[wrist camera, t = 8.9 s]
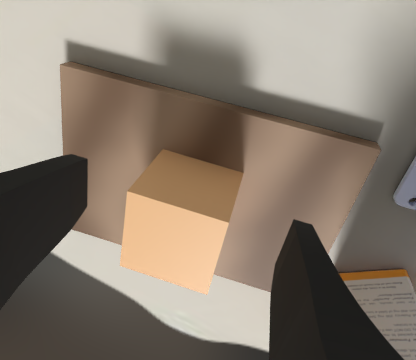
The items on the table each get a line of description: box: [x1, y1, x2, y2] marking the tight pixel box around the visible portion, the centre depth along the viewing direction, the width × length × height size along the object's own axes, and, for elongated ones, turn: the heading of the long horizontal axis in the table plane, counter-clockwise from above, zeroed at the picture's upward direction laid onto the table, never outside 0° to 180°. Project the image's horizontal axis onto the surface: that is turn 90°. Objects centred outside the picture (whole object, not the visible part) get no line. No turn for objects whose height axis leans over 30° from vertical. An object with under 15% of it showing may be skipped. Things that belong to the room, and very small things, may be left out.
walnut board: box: [60, 62, 381, 292], centre depth 22 cm, size 18×12×1 cm, turn 80°
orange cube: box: [120, 149, 244, 295], centre depth 19 cm, size 5×5×5 cm
